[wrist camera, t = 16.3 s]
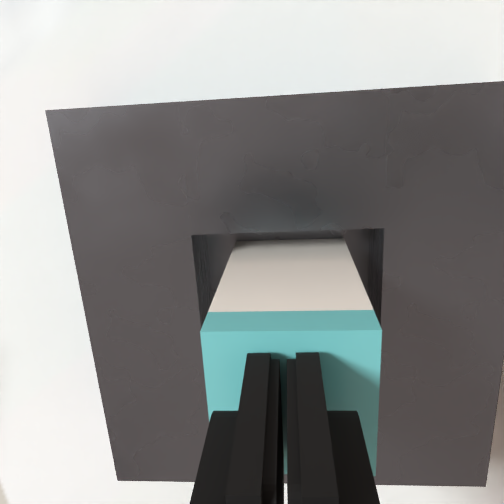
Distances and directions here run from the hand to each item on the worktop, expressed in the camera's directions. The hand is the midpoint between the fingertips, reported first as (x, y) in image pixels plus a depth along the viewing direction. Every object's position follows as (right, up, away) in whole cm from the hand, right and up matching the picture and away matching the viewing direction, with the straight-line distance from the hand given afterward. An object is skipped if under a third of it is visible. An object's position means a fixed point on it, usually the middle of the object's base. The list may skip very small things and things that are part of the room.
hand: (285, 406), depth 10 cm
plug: (+1, +2, +7) cm, 7 cm away
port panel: (+1, +2, +7) cm, 8 cm away
